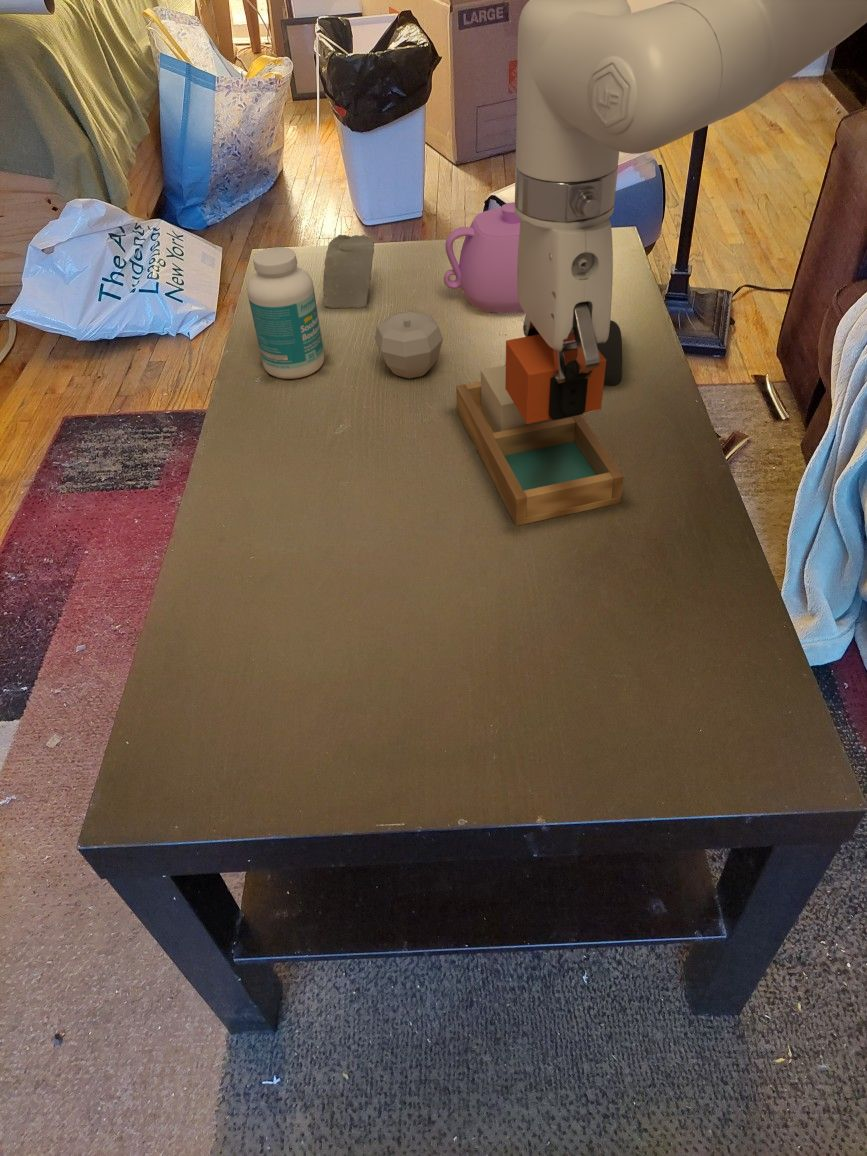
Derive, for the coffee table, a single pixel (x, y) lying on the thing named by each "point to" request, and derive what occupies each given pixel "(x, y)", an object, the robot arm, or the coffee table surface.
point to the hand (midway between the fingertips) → (553, 393)
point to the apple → (409, 343)
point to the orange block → (542, 377)
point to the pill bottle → (285, 315)
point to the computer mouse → (612, 355)
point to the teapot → (488, 260)
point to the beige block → (499, 401)
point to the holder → (542, 463)
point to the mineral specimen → (348, 271)
